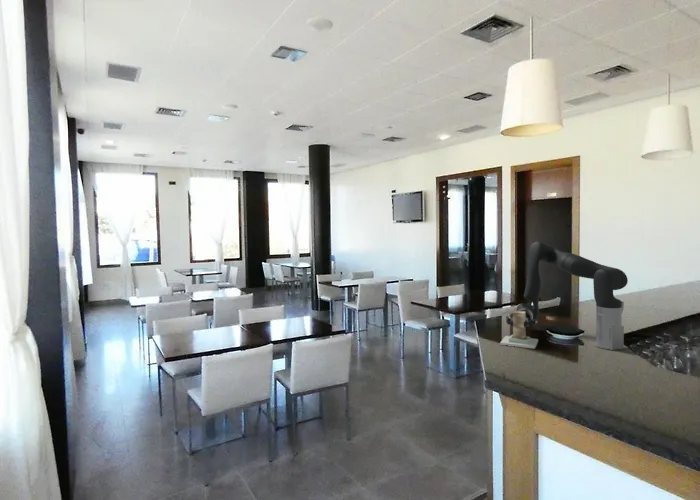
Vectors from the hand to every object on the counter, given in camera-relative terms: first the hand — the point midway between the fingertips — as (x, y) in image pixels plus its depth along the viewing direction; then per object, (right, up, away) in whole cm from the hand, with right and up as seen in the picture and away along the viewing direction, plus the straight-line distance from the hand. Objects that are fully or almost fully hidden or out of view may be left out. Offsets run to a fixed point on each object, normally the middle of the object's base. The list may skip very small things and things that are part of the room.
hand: (518, 324), depth 185 cm
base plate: (+1, -9, +3) cm, 9 cm away
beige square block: (+1, -7, +3) cm, 8 cm away
